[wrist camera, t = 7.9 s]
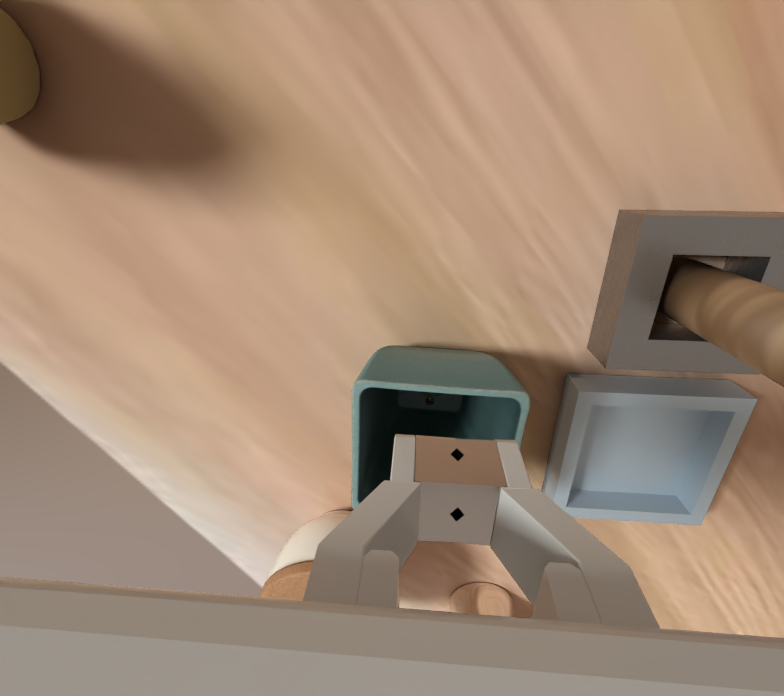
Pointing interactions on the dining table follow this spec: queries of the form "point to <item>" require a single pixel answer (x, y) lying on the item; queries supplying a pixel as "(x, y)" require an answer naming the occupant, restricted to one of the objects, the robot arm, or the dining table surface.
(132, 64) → the dining table surface
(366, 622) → the robot arm
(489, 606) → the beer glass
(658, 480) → the tray
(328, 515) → the lidded jar
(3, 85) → the squeeze bottle
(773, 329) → the dowel
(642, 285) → the socket block
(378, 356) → the flower pot
